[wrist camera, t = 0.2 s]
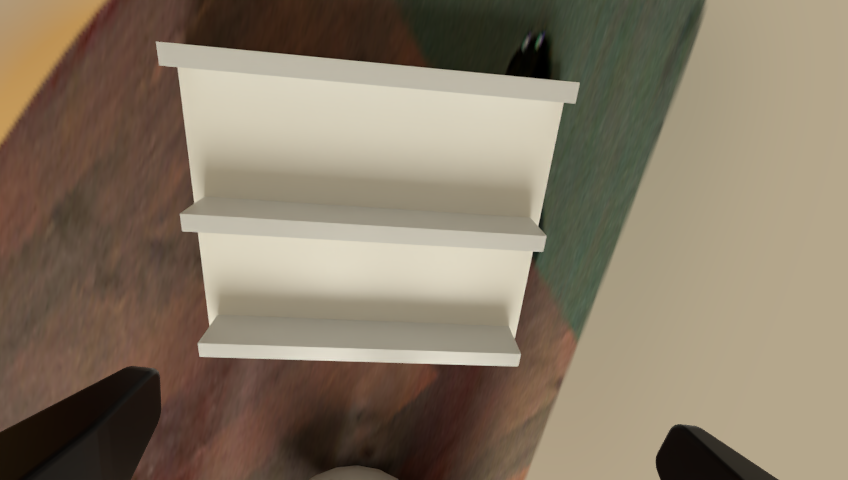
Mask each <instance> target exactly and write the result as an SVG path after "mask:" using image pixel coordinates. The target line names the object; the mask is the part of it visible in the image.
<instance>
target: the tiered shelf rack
mask: <svg viewBox="0 0 848 480" xmlns="http://www.w3.org/2000/svg"><path fill="white" fill-rule="evenodd" d="M156 46H157V54H158V61H159V65H160V66H171V67H178V75H179V83H180V91H181V99H182V108H183V116H184V124H185V132H186V140H187V148H188V156H189V164H190V172H191V180H192V188H193V197H194V204H193V205H192V206H190V207H189V208H187V209H186V210H184V211H183V212H182V213H180V219H181V226H182V231H184V232H198V237H199V245H200V253H201V261H202V269H203V277H204V285H205V294H206V302H207V310H208V318H209V328H208V329H207V331H206V332H205V334H204V335H203V336H202V338H201V339H200V341H199V342H198V349H199V356H200V357H223V358H255V359H288V360H321V361H354V362H386V363H419V364H452V365H484V366H517V367H518V366H519V361H520V356H521V353H520V351H519V348H518V346H517V344H516V341H515V339H514V338H515V336H516V331H517V326H518V321H519V317H520V312H521V307H522V302H523V297H524V292H525V288H526V283H527V278H528V273H529V268H530V263H531V259H532V254H533V251H534V252H543V250H544V246H545V241H546V237H547V236H546V235H545V234H544V233H543V231H542V230H541V229H540V228H539V227H538V225H539V220H540V215H541V210H542V205H543V201H544V196H545V191H546V186H547V181H548V176H549V171H550V167H551V162H552V157H553V152H554V147H555V142H556V138H557V133H558V128H559V123H560V118H561V113H562V109H563V104H564V103H573V104H575V103H576V98H577V94H578V89H579V85H580V83H578V82H568V81H560V80H549V79H539V78H529V77H519V76H508V75H498V74H488V73H477V72H467V71H457V70H447V69H436V68H426V67H416V66H405V65H395V64H385V63H374V62H364V61H354V60H344V59H333V58H323V57H313V56H302V55H292V54H282V53H272V52H261V51H251V50H241V49H230V48H220V47H210V46H200V45H189V44H178V43H166V42H156Z"/></svg>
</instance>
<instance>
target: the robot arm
mask: <svg viewBox="0 0 848 480" xmlns="http://www.w3.org/2000/svg"><path fill="white" fill-rule="evenodd" d="M160 414H161V390H160V375H159V372H158V371H157V370H156V369H154V368H146V367H137V366H130V367H126V368H124V369H122V370H120V371H118V372H116V373H114V374H112V375H110V376H108V377H106V378H104V379H102V380H100V381H98V382H97V383H95V384H93V385H91V386H89V387H87V388H85V389H83V390H81V391H79V392H77V393H75V394H73V395H71V396H69V397H67V398H65V399H64V400H62V401H60V402H58V403H56V404H54V405H52V406H50V407H48V408H46V409H44V410H42V411H40V412H38V413H36V414H34V415H32V416H31V417H29V418H27V419H25V420H23V421H21V422H19V423H17V424H15V425H13V426H11V427H9V428H7V429H5V430H3V431H1V432H0V480H131V478H132V476H133V474H134V472H135V470H136V468H137V466H138V464H139V461H140V459H141V457H142V455H143V453H144V451H145V449H146V447H147V445H148V443H149V441H150V439H151V437H152V434H153V432H154V430H155V428H156V426H157V424H158V421H159V418H160ZM656 468H657V471H658V474H659V477H660V479H661V480H778V479H777V478H775V477H773V476H772V475H770V474H769V473H768V472H766V471H764V470H763V469H761V468H760V467H759V466H757V465H755V464H754V463H753V462H751V461H750V460H748V459H746V458H745V457H743V456H742V455H740V454H739V453H738V452H736V451H734V450H733V449H732V448H730V447H728V446H727V445H726V444H724V443H723V442H721V441H719V440H718V439H716V438H715V437H714V436H712V435H711V434H709V433H708V432H706V431H705V430H703V429H701V428H699V427H697V426H690V425H681V424H678V425H675V426H673V427H672V428H671V429H670V431H669V433H668V435H667V436H666V438H665V440H664V442H663V444H662V446H661V448H660V450H659V452H658V454H657V456H656Z"/></svg>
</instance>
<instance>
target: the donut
mask: <svg viewBox="0 0 848 480" xmlns="http://www.w3.org/2000/svg"><path fill="white" fill-rule="evenodd" d="M309 480H399V479H397V478H395V477H393V476H391V475H389V474H387V473H385V472H383V471H381V470H379V469H375V468H369V467H364V466H358V465H356V466H346V467H336V468H333V469H331V470H328V471H325V472H323V473H320V474H318V475H315V476H313V477H312V478H310V479H309Z"/></svg>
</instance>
